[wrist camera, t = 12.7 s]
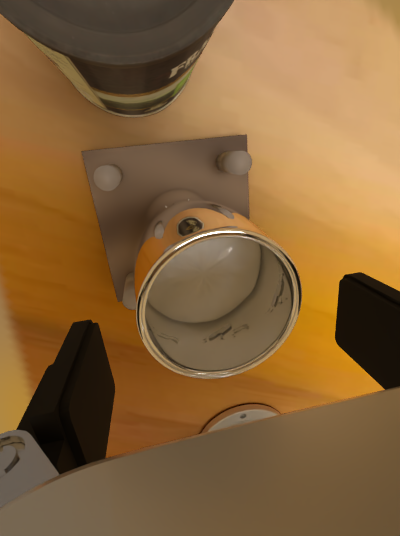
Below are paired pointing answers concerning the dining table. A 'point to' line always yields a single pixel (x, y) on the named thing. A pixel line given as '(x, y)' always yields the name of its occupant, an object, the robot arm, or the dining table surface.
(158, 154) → the peg stand
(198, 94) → the dining table surface
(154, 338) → the beer glass
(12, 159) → the dining table surface
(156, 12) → the coffee can
